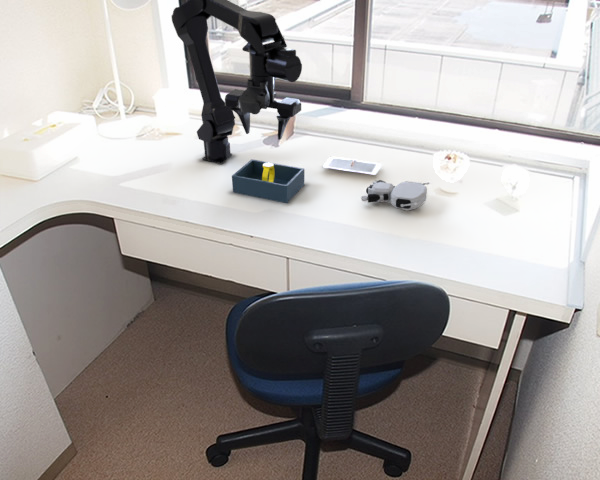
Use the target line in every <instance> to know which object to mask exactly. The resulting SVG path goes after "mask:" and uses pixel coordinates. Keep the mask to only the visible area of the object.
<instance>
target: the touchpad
mask: <svg viewBox="0 0 600 480" xmlns="http://www.w3.org/2000/svg"><path fill="white" fill-rule="evenodd" d="M382 165H383V163H382V162H381V163H379V162H374V161H373V162H372V161H366V160H360V159H352V158H346V157H339V156H329V158H328V159H327V160H326V162H325V163H324V164H323V166H322V168H325V169H331V170H338V171H345V172H353V173H359V174H366V175H372V176H377V174H378V172H379V171H380V169H381V167H382Z"/></svg>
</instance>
